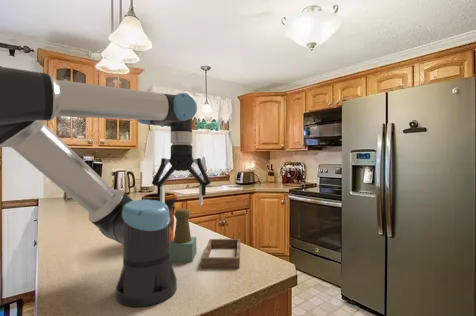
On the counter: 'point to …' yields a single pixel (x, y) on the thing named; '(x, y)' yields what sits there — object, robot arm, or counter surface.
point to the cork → (182, 226)
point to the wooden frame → (221, 261)
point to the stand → (183, 251)
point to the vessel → (169, 201)
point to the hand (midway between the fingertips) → (181, 205)
